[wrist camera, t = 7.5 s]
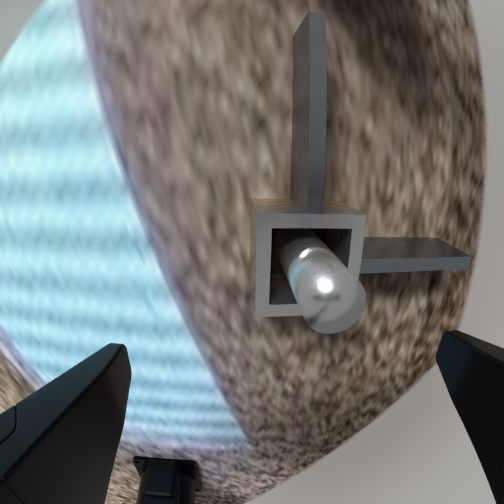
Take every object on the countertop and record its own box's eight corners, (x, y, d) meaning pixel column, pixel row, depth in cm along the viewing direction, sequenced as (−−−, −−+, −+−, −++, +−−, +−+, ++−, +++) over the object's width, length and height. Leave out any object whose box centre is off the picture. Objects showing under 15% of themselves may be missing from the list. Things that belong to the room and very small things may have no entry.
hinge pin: (313, 262, 20) (360, 331, 12) (272, 263, 20) (299, 335, 12) (316, 222, 19) (370, 273, 12) (274, 222, 19) (305, 275, 11)
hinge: (429, 277, 21) (459, 301, 17) (249, 284, 20) (254, 317, 16) (446, 69, 16) (482, 61, 12) (253, 33, 15) (260, 7, 11)
